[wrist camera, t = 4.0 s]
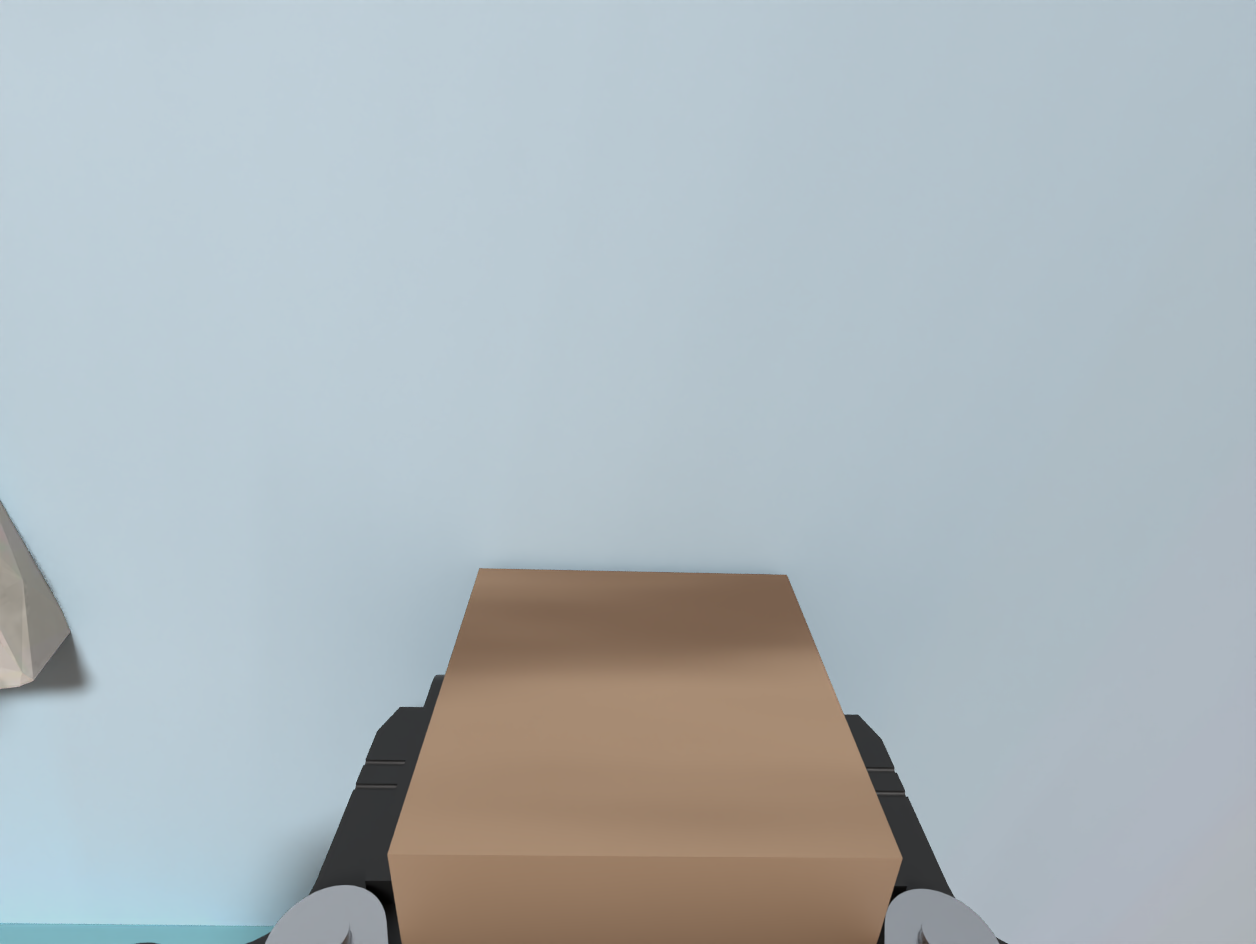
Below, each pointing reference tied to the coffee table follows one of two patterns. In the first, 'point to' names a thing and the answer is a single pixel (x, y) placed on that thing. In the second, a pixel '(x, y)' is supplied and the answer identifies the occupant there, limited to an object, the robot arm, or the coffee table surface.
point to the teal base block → (128, 934)
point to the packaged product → (25, 612)
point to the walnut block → (639, 772)
